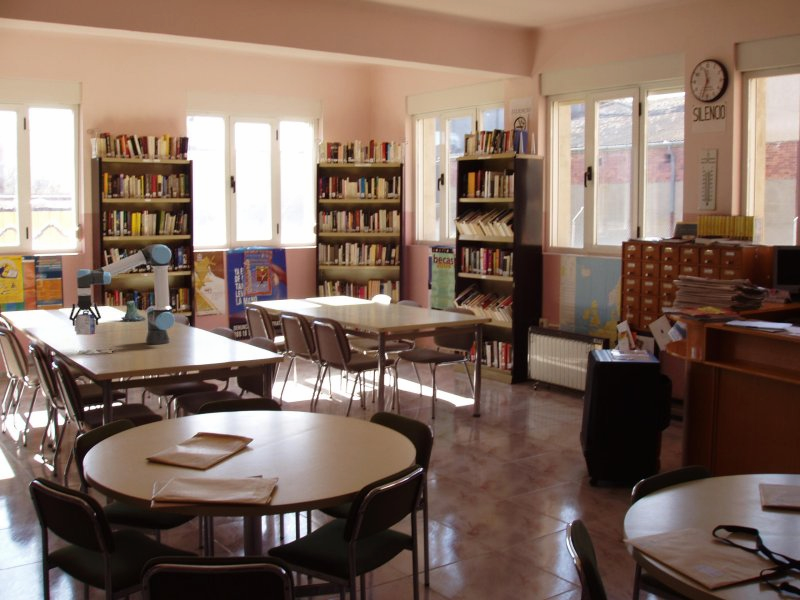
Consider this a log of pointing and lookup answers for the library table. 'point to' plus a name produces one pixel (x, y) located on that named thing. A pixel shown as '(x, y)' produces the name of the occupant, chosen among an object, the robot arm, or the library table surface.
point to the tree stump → (132, 313)
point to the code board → (90, 351)
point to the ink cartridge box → (85, 324)
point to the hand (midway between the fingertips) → (85, 330)
